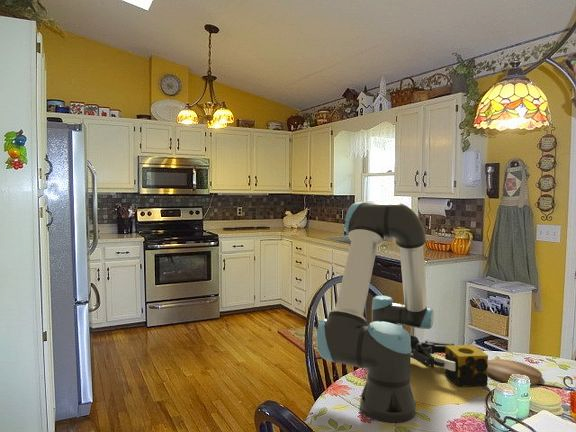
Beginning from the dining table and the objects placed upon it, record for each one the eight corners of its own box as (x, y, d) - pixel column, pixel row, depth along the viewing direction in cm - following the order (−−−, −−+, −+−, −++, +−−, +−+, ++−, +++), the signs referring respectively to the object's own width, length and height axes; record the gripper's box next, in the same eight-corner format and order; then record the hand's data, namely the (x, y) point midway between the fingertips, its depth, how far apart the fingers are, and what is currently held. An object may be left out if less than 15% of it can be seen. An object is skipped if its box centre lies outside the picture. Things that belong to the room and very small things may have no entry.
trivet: (533, 391, 132) (533, 386, 132) (473, 373, 145) (473, 369, 144) (548, 374, 145) (548, 369, 145) (492, 359, 158) (492, 355, 157)
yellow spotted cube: (472, 373, 145) (473, 344, 144) (488, 386, 135) (490, 355, 134) (443, 373, 144) (444, 344, 144) (457, 387, 134) (458, 356, 133)
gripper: (420, 346, 164) (477, 361, 149) (386, 364, 146) (447, 384, 131) (421, 327, 163) (478, 340, 149) (386, 342, 145) (448, 360, 131)
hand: (463, 361), depth 140 cm, fingers closed on yellow spotted cube, 13 cm apart
